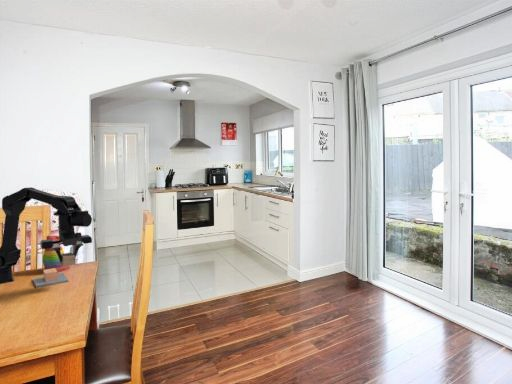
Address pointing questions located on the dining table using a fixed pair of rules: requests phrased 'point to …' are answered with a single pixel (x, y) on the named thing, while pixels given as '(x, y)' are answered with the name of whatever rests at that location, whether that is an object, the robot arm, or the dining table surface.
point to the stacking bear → (53, 257)
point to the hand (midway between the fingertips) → (67, 260)
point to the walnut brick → (67, 259)
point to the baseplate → (41, 282)
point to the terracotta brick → (50, 274)
